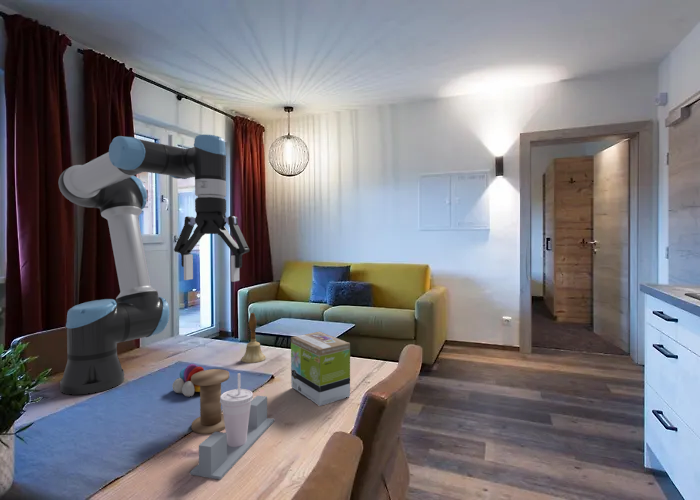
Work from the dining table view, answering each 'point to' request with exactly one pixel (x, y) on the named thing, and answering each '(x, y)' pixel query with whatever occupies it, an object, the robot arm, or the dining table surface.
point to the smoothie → (236, 414)
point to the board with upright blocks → (222, 457)
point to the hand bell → (253, 345)
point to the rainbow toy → (187, 381)
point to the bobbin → (209, 400)
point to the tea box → (320, 367)
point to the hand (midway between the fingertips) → (211, 280)
